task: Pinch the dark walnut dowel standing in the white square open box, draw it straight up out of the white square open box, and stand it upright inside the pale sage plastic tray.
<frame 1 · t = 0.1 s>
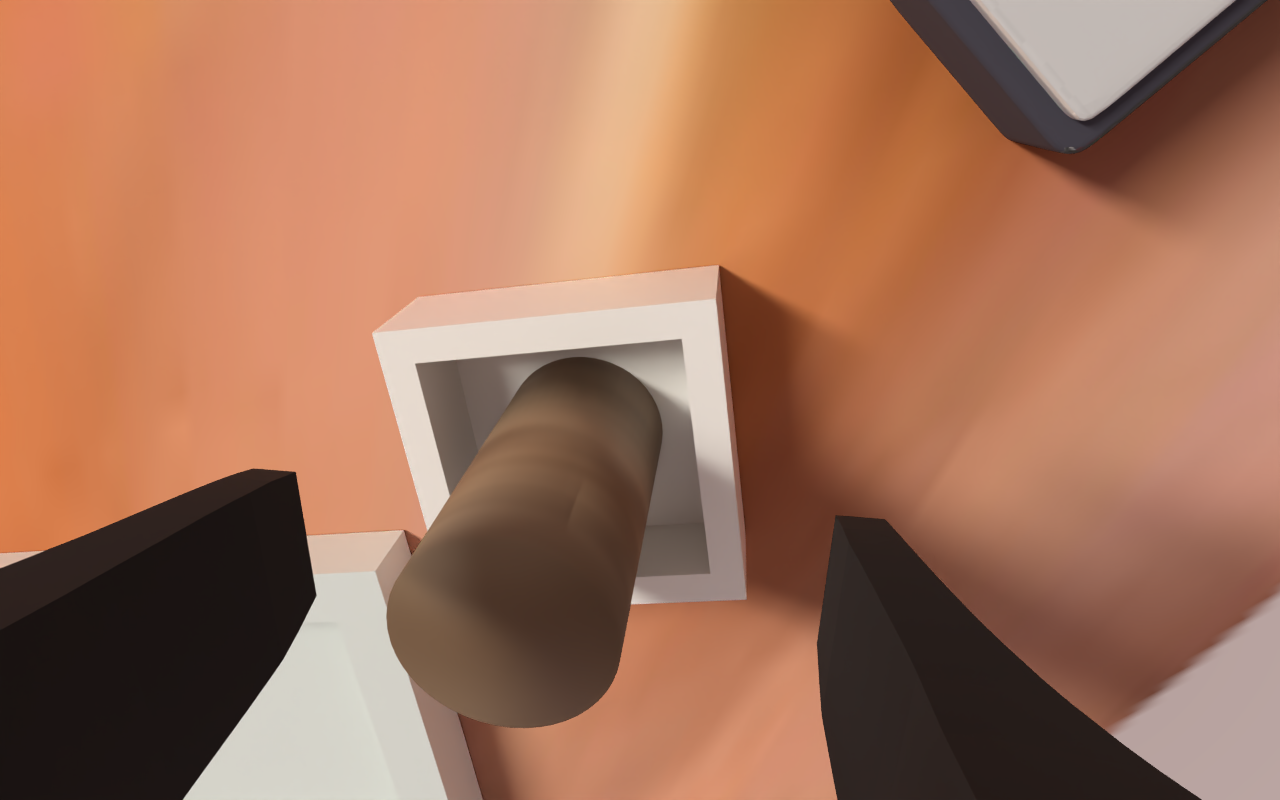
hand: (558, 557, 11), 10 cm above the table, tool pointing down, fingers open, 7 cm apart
white square open box: (588, 421, 21), on the table
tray: (260, 717, 27), on the table
dowel: (585, 429, 21), resting on white square open box
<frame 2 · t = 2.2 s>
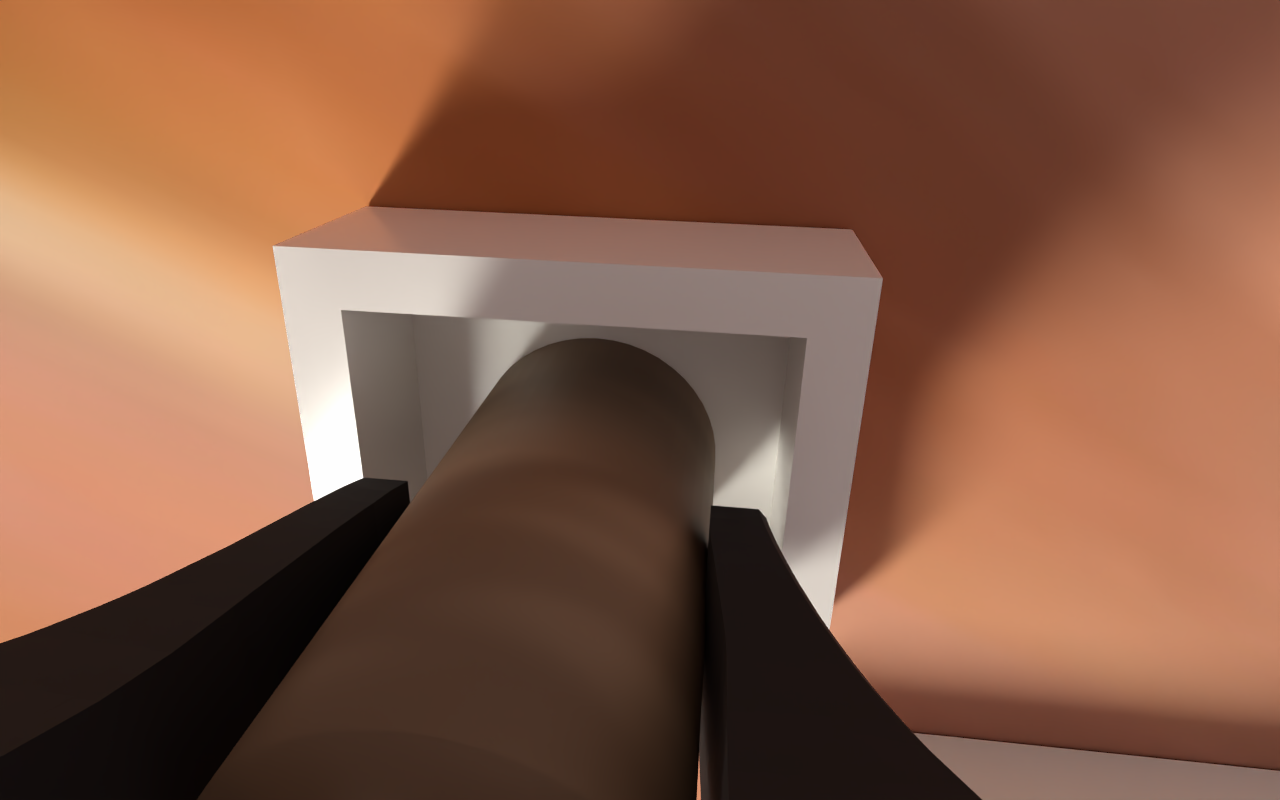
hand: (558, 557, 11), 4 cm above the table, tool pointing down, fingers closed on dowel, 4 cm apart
white square open box: (600, 437, 14), on the table
dowel: (596, 450, 13), resting on white square open box, touching gripper
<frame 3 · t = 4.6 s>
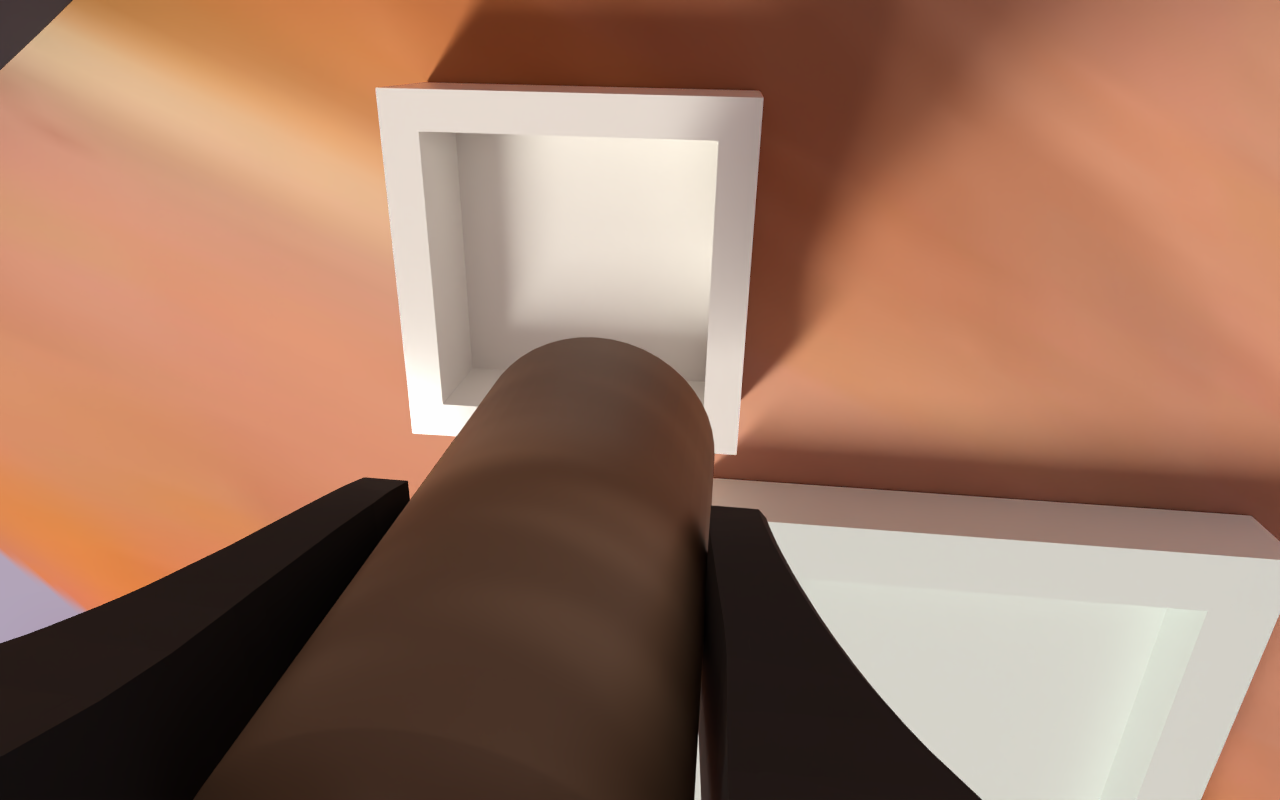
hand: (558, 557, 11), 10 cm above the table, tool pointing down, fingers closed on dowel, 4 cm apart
white square open box: (590, 253, 20), on the table
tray: (924, 699, 24), on the table
dowel: (595, 449, 13), point 7 cm above the table, touching gripper
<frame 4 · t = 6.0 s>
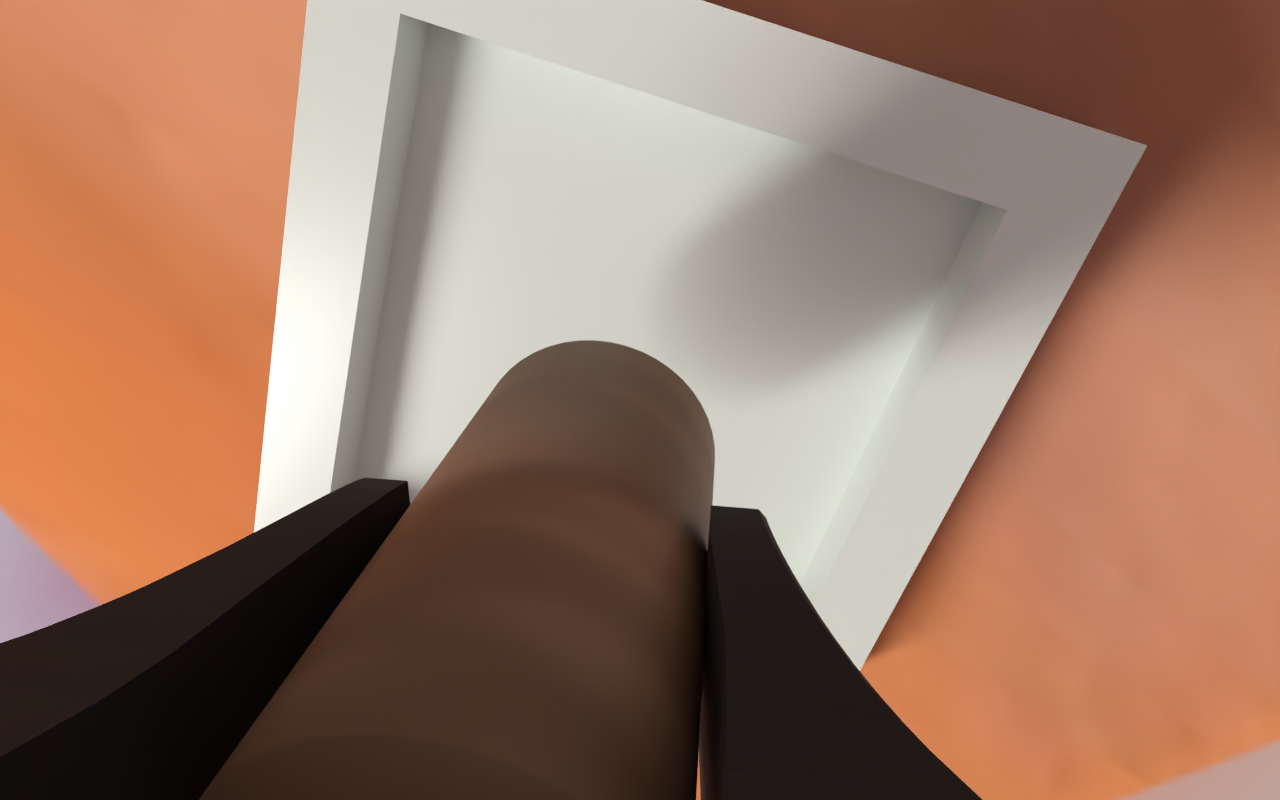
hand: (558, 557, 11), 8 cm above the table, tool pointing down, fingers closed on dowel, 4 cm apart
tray: (631, 354, 18), on the table
dowel: (595, 452, 13), point 5 cm above the table, touching gripper
when the fingers open (5 cm above the table, at t = 7.3 s): dowel drops 1 cm, resting on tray.
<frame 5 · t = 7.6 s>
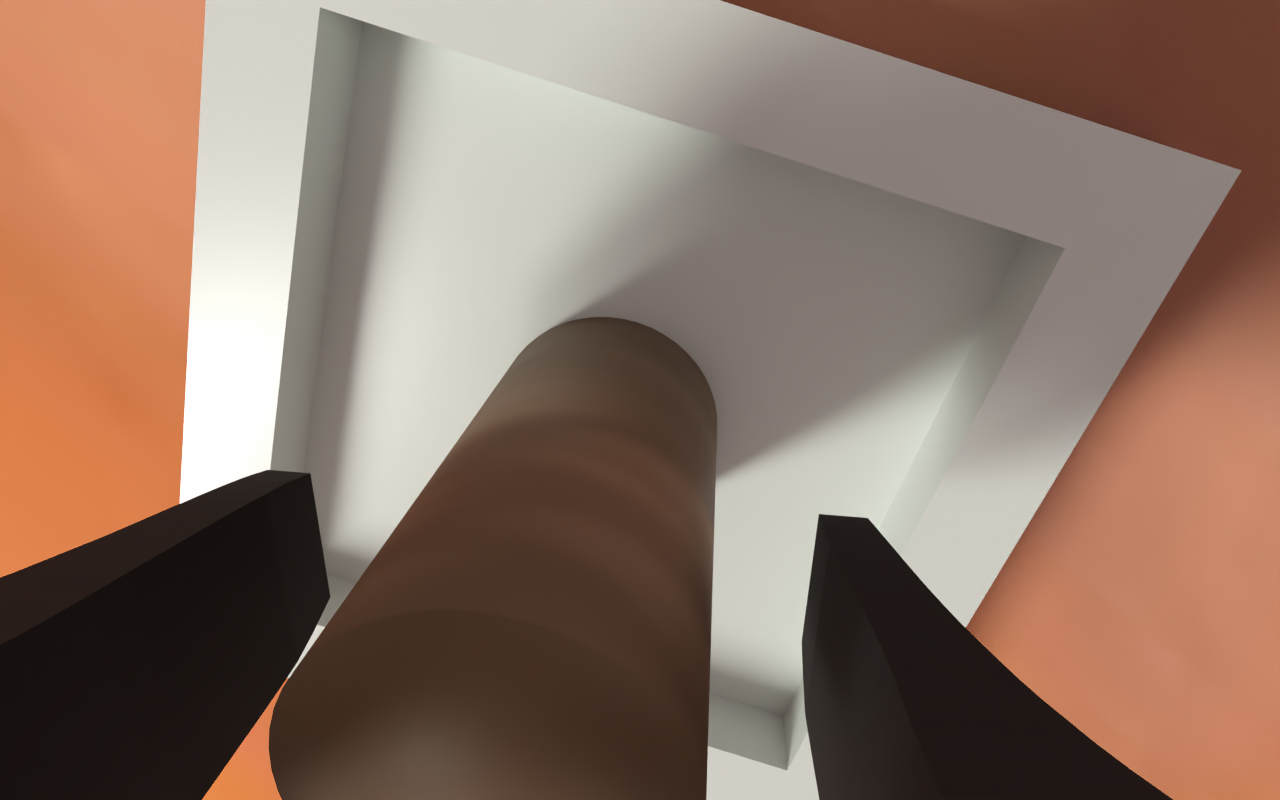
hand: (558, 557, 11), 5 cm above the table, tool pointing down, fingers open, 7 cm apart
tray: (611, 406, 15), on the table
dowel: (606, 422, 15), point 1 cm above the table, touching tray
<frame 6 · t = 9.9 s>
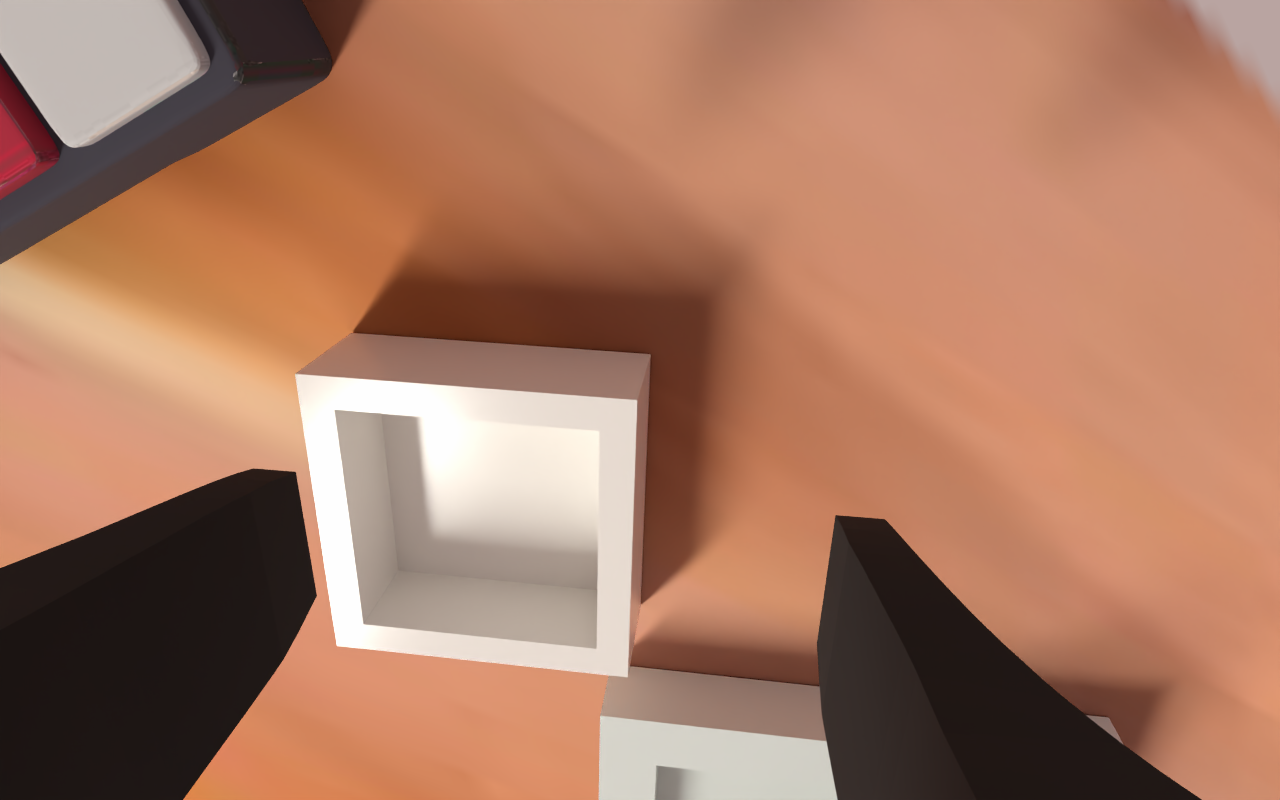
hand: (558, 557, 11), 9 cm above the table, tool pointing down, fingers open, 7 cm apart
white square open box: (504, 477, 21), on the table
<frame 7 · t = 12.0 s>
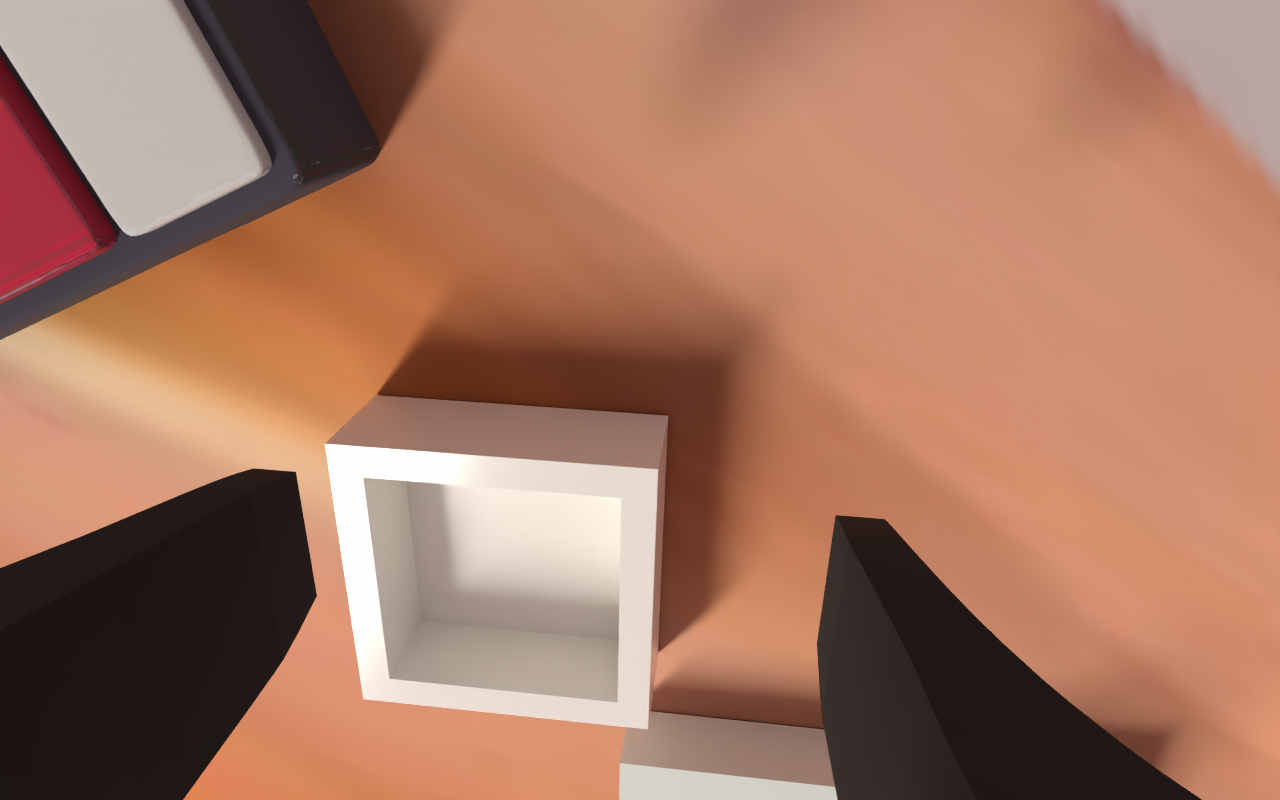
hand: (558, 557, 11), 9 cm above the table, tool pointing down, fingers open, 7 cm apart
white square open box: (524, 531, 22), on the table
calculator: (14, 57, 19), on the table
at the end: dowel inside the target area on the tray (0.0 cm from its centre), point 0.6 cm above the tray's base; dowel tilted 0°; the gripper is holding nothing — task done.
